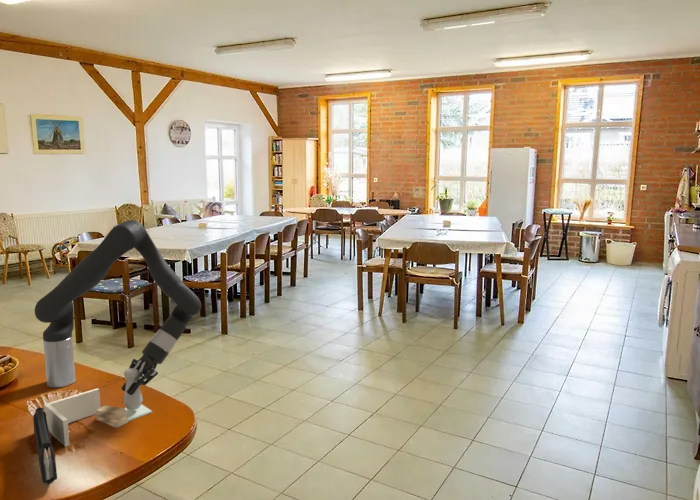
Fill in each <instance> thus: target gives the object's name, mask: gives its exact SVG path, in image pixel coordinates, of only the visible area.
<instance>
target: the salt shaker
mask: <svg viewBox="0 0 700 500" xmlns="http://www.w3.org/2000/svg"><path fill="white" fill-rule="evenodd" d="M123 375H124V376H123V377H124V378H125V382H126V387H125V391H124V395H123V404H124V408H127V409H128V410H135V409H138V408H139V407H140V406H141V404H142V403H143V399H144V398H143V394H142V391H141V387H140V386H139V387H138V388H137V390H136V391H135V393H134V394H133V395H130V394H128V393H127V390H128V389H129V387H130V386H131V385H132V383H133V382H134V381H135V379H136V377H137V376H138V370H137V369H135V368H130V369H129V368H127V369H125V370H124V372H123ZM134 383H135V382H134Z"/></svg>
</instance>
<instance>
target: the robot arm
mask: <svg viewBox="0 0 700 500" xmlns="http://www.w3.org/2000/svg"><path fill="white" fill-rule="evenodd" d="M133 249H135V250H136V251H137V252H138V253H139V254H140V255H141V256H142V258H143V260H144V261H145V263H146V265H147V268H148V271H149V274H150V276H151V278H152V279H153V281H154V283H155V284H156V285H157V286H158V288H160V290H161V291H162V292H163V294H165V296H167V297H168V298H170V299H171V300H172V301H173V302H174V303H175V305H176V306H174V308H173V310H172V312H171V313H170V315H169V316H168V318H167V319H166V320H165V321H164V322H163V324H162V325H161V326H160V327H159V329H158V330H157V331H156V332H155V333H154V335H153V336H152V337H151V338H150V340H149V341H148V342H147V344H146V345H145V346H144V348H143V350H142V351H141V353H142V356H141V357H139V359H135V358H133V359H132V360H131V363H130V364H129V368H128V369H130V368H135V369H137V370H138V376H137V377H136V379H135V381H134V382H135V383H134V382H133V383H132V385H131V386H130V387H129V389H128V390H127V393H128V394H130V395H133V394H134V393H135V391H136V390H137V388H138V387H140V386H146V385H147V384H148V383H150V382H151V381H152V380H153V379H154V378H155V377H156V376H158V374H159V372H158V371H157V370H156V368H157V366H158V364H159V365H161V364H163V363H164V361H165V359H166V358H167V357H168V355H169V354H170V352H171V351H172V350H173V349H174V346H175V344H176V343H177V342H178V340H179V339H180V337H181V336H182V335H183V333H184V332H185V330H186V326H187V325H188V323H189V322H190V321H191V320H192V318H193V317H194V316H195V315H197V314H198V313H200V311H201V309H202V303H201V302H202V301H201V300H200V298H199V297H198V296H197V294H195V292H193V291H192V290H191V289H190V288H189V287H188V286H187V285H186V284H185V283H184V282H183V281H182V280H181V278H180V277H179V276H178V275H177V274H176V272H175V271H174V270H173V269H172V268H171V266H170V265H169V263H168V262H167V261H166V260H165V258H164V257H163V255H162V253H161V252H160V251H159V249H158V247H157V246H156V244H155V243H154V241H153V239H152V238H151V236H150V234H149V233H148V231H147V229H146V228H145V226H143V224H142V223H140V222H139V221H137V220H135V219H128V220H126V221H123V222H121V223H118V224H116V225H115V226H114V227H112V228H111V229H110V231H109V232H108V233H107V234H106V236H105V237H104V239H103V240H102V241H101V242H100V244H98V246H97V247H96V248H95V249H94V250H92V251H90V253H88V254H87V255H86V256H85V257H84V258H83V259H82V260H80V262H79V263H77V265H76V266H74V267H73V269H72V270H71V271H70V272H69V273H68V274H67V275H65V277H64V278H63V279H62V280H61V281H60V282H59V283H58V285H56V286H55V287H54V288H53V289H52V290H50V292H48V293H47V294H45V295H43V297H41V298H40V299H39V300H38V301H37V302H36V304H35V307H34V316H35V318H36V319H37V320H38V321H40V322H42V323H45V324H46V323H50V324H49V325H48V326H47V327H46V329H44V330H43V332H42V340H43V343H42V344H43V351H44V363H45V365H44V366H45V377H46V385H47V387H49V388H63V387H66V386H70V385H72V384H73V383H75V381H76V369H75V357H74V344H73V331H74V328H75V327H74V326H75V320H74V318H75V317H74V316H75V315H74V313H75V312H74V311H75V310H74V304H73V301H75V300H76V299H78V298H80V297H81V296H83V295H85V294H86V293H87V292H90V291H91V290H92V289H93V288H95V287H96V286H97V285H98V284H100V282H101V281H102V280H103V279H104V278H105V277H106V276H107V274H108V273H109V272H110V269H111V267H112V265H113V264H114V263H115V262H116V261H117V260H118V259H120V258H121V257H122V256H124V255H125V254H126V253H127V252H130V251H131V250H133ZM125 387H126V381H125V382H124V383H123V385H122V386H121V391H124V392H125Z"/></svg>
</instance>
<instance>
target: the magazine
mask: <svg viewBox="0 0 700 500" xmlns="http://www.w3.org/2000/svg"><path fill="white" fill-rule="evenodd" d="M32 419H33V432H34V437H35V445H36V451H37V457H38V463H39V470H40V474H41V475H40V476H41V482H42V483H43V484H47V485H50V484H53V483H54V482H55V481H56V480H57V479H58V472H57V464H56V463H57V462H56V454H55V450H54V448H53V444H52V439H51V435H50V434H51V433H50V432H49V429H48V424H47V419H46V413H45V410H44V407H37V408H35V412H34V414H33V415H32Z"/></svg>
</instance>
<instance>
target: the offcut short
mask: <svg viewBox="0 0 700 500" xmlns="http://www.w3.org/2000/svg"><path fill="white" fill-rule="evenodd" d="M125 408H126V407H117V406H113V405H103V406H101V408H99V409H98V410H96V411H97V414H96V415H97V417H101V418H107V419H113V420H120V419H121V418H123V417H124V416H126V409H125Z"/></svg>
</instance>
